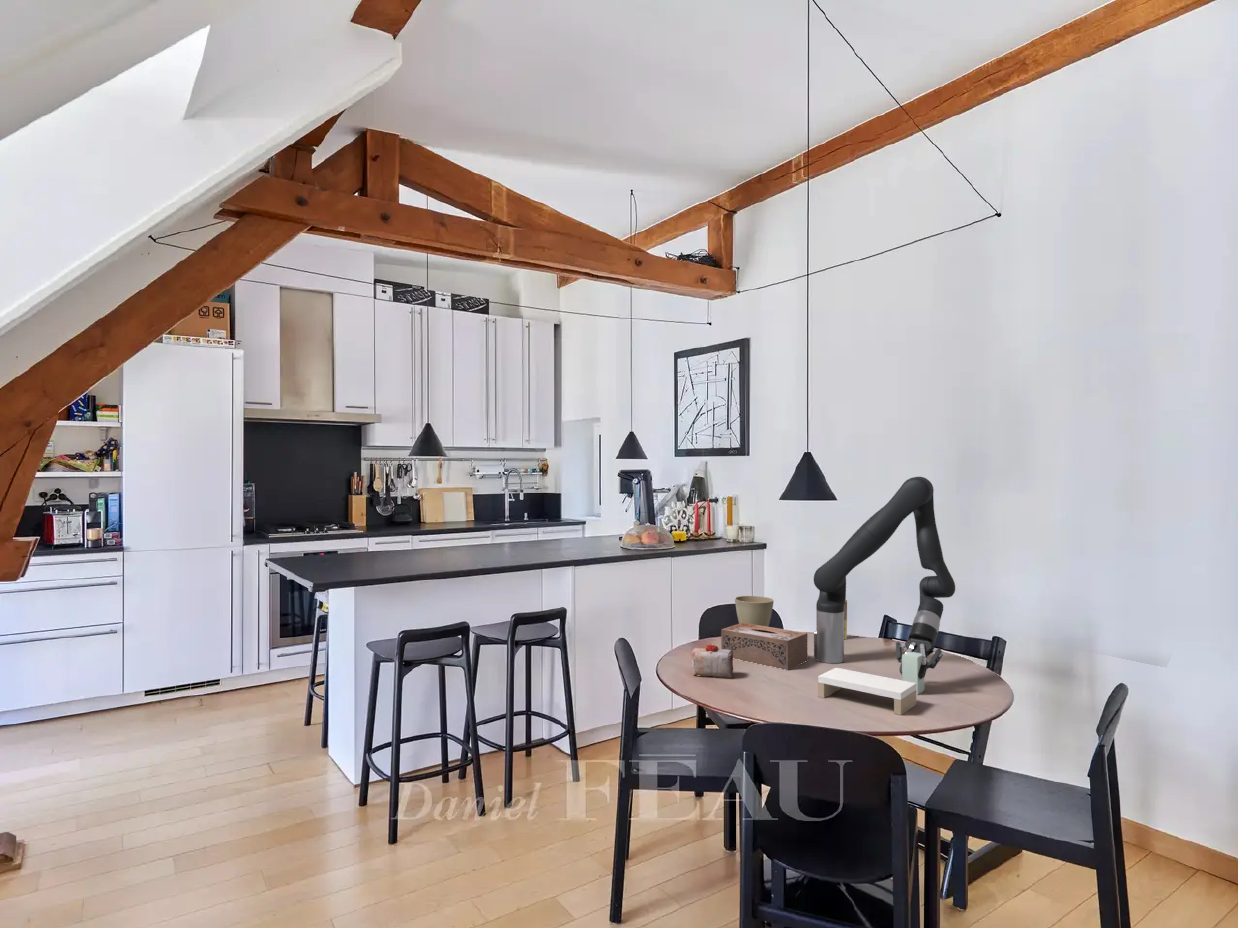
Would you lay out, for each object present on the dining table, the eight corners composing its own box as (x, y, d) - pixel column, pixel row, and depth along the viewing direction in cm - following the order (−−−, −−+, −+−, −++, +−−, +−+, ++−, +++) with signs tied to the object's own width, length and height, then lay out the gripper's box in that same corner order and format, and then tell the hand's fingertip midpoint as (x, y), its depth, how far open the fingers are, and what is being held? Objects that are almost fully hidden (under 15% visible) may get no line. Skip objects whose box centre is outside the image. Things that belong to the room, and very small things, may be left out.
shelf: (818, 696, 212) (818, 675, 212) (835, 687, 221) (836, 667, 221) (900, 715, 196) (900, 693, 196) (916, 704, 205) (916, 683, 205)
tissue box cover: (721, 657, 256) (721, 629, 256) (742, 649, 267) (742, 622, 267) (787, 670, 239) (787, 640, 239) (807, 661, 250) (807, 633, 250)
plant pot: (765, 646, 270) (765, 603, 270) (728, 641, 279) (728, 599, 279) (779, 638, 283) (779, 597, 283) (744, 633, 291) (744, 594, 291)
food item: (689, 676, 232) (689, 646, 232) (693, 670, 239) (693, 640, 239) (732, 680, 228) (732, 648, 228) (734, 673, 236) (734, 642, 236)
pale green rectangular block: (902, 691, 216) (902, 654, 216) (909, 687, 221) (909, 651, 221) (917, 694, 213) (917, 657, 213) (924, 690, 218) (924, 653, 218)
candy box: (839, 636, 286) (839, 598, 286) (847, 639, 282) (847, 599, 282) (822, 639, 282) (822, 599, 282) (830, 641, 278) (830, 601, 278)
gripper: (898, 618, 228) (883, 664, 218) (946, 624, 218) (932, 673, 209) (904, 632, 232) (890, 678, 222) (951, 639, 222) (938, 687, 213)
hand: (911, 675), depth 216 cm, fingers closed on pale green rectangular block, 4 cm apart
